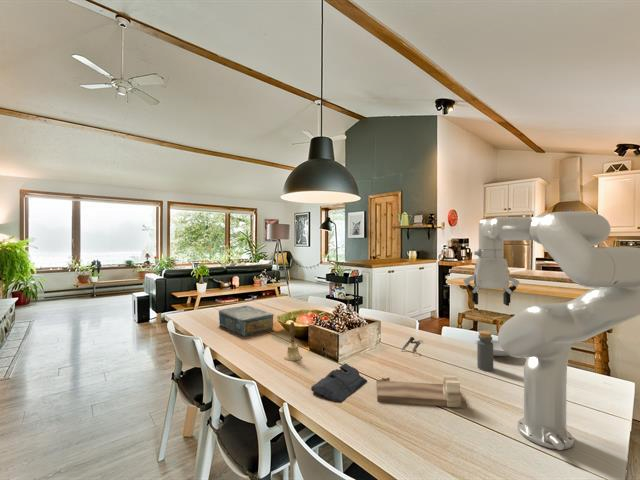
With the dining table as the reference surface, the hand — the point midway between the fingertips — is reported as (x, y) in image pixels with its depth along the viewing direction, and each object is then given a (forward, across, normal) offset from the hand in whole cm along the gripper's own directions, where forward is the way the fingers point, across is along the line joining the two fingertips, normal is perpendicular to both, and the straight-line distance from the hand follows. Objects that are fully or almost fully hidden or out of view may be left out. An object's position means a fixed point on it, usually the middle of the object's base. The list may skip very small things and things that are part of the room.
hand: (490, 304), depth 108 cm
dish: (+32, +14, +38) cm, 52 cm away
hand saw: (+32, -35, +12) cm, 49 cm away
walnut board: (+31, -25, -6) cm, 40 cm away
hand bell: (+32, -77, +20) cm, 86 cm away
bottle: (+32, +5, +23) cm, 39 cm away
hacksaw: (+32, -21, +44) cm, 58 cm away
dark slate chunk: (+32, -53, -3) cm, 62 cm away
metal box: (+32, -119, +60) cm, 137 cm away
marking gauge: (+31, -15, -7) cm, 35 cm away
